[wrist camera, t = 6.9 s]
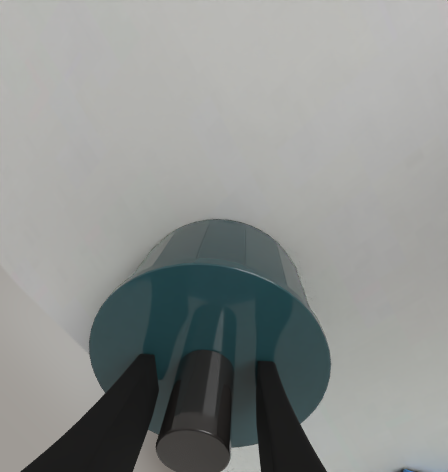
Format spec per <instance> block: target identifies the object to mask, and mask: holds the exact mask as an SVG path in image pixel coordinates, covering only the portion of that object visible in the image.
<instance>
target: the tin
mask: <svg viewBox="0 0 448 472" xmlns="http://www.w3.org/2000/svg"><path fill="white" fill-rule="evenodd" d="M186 258H211V259H222V260H227V261H232V262H237V263H241V264H244V265H247V266H250V267H253V268H256V269H258V270H260V271H262V272H265V273H267V274H269V275H271V276H273V277H274V278H276V279H277V280H279V281H281V282H282V283H284V284H286V285H287V286H288V287H289V288H290V289H292V290H293V291H294V292H295V293H297V294H298V295H299V296H300V297H301V298H302V299H303V300H304V301H305V303H306V304H307V305H308V306H309V304H308V301H307V299H306V296H305V293H304V290H303V287H302V284H301V281H300V278H299V275H298V272H297V269H296V267H295V265H294V264H293V262H292V261H291V259H290V258H289V256H288V255H287V253H286V252H285V250H284V249H283V248H282V247H281V246H280V245H279V244H278V243H277V242H276V241H275V240H274V239H272V238H271V237H270V236H269V235H267V234H265V233H264V232H262V231H261V230H259V229H257V228H254V227H252V226H250V225H247V224H244V223H241V222H236V221H231V220H221V219H213V220H203V221H198V222H194V223H191V224H188V225H185V226H183V227H181V228H179V229H177V230H175V231H173V232H172V233H170V234H169V235H167V236H166V237H165V238H164V239H163V240H162V241H161V242H160V243H159V244H157V245H156V246H155V247H154V248H153V249H152V250H151V252H150V253H149V254H148V256H147V257H146V258H145V260H144V261H143V262H142V263H141V265H140V266H139V267H138V269H137V270H136V271H135V273H134V274H133V275H135V274H136V273H138V272H140V271H142V270H144V269H147V268H149V267H151V266H154V265H157V264H161V263H164V262H167V261H173V260H179V259H186ZM133 275H132V276H133Z"/></svg>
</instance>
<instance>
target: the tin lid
mask: <svg viewBox="0 0 448 472" xmlns="http://www.w3.org/2000/svg"><path fill="white" fill-rule="evenodd" d="M89 354H90V359H91V365H92V368H93V371H94V373H95V376H96V378H97V380H98V382H99V384H100V386H101V388H102V389H103V390H104V392H105V393H106V392H107V391H108V390H109V389H110V388H111V387H112V385H113V384H114V383H115V382H116V381H117V380H118V379H119V378H120V376H121V375H122V374H123V373H124V372H125V371H126V369H127V368H128V367H129V366H130V365H131V364H132V362H133V361H134V360H135V359H136V358H137V356H138V355H140V354H152V355H155V362H156V370H157V378H158V386H159V392H158V397H157V401H156V405H155V409H154V413H153V416H152V419H151V422H150V425H149V428H148V430H150V431H152V432H154V433H156V434H158V439H157V442H156V452H157V455H158V458H159V459H160V460H161V461H162V463H163V464H164V465H165V466H167V467H168V468H170V469H172V470H173V471H176V472H221V471H222V470H224V469H225V468H226V467H227V465H228V463H229V461H230V458H231V448H234V447H243V446H250V445H254V444H258V436H257V426H256V386H257V367H258V361H272V362H274V363H275V364H276V368H277V371H278V374H279V377H280V380H281V382H282V385H283V388H284V390H285V393H286V395H287V397H288V400H289V402H290V404H291V406H292V408H293V410H294V413H295V415H296V417H297V419H298V421H299V423H300V424H301V423H302V422H303V421H304V420H305V419H307V418H308V417H309V416H310V414H311V413H312V412H313V411H314V410H315V409H316V407H317V406H318V404H319V403H320V401H321V400H322V398H323V396H324V394H325V391H326V389H327V386H328V382H329V378H330V370H331V359H330V350H329V347H328V343H327V340H326V337H325V334H324V331H323V329H322V327H321V325H320V323H319V321H318V319H317V317H316V316H315V314H314V313H313V311H312V310H311V308H310V307H309V306H308V305H307V304H306V303H305V301H304V300H303V299H302V298H301V297H300V296H299V295H298V294H297V293H295V292H294V291H293V290H292V289H290V288H289V287H288V286H287V285H286V284H284V283H282V282H281V281H279V280H277V279H276V278H274V277H273V276H271V275H269V274H267V273H265V272H262V271H260V270H258V269H256V268H253V267H250V266H247V265H244V264H241V263H237V262H232V261H227V260H222V259H211V258H186V259H179V260H173V261H167V262H164V263H161V264H157V265H154V266H151V267H149V268H147V269H144V270H142V271H140V272H138V273H136V274H135V275H133V276H131V277H130V278H128V279H127V280H125V281H124V282H123V283H122V284H121V285H120V286H118V287H117V288H116V289H115V290H114V291H113V292H112V294H111V295H110V296H109V297H108V299H107V300H106V301H105V302H104V303H103V305H102V306H101V308H100V310H99V311H98V313H97V315H96V317H95V319H94V322H93V325H92V328H91V333H90V340H89Z"/></svg>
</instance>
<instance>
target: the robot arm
mask: <svg viewBox="0 0 448 472" xmlns="http://www.w3.org/2000/svg"><path fill="white" fill-rule="evenodd" d="M158 392H159V386H158V378H157V370H156V362H155V355H152V354H140V355H138V356H137V358H136V359H135V360H134V361H133V362H132V364H131V365H130V366H129V367H128V368H127V369H126V371H125V372H124V373H123V374H122V375H121V376H120V378H119V379H118V380H117V381H116V382H115V383H114V384H113V385H112V387H111V388H110V389H109V390H108V391H107V392H106V393H105V394H104V395H103V396H102V397H101V399H100V400H99V401H98V402H97V403H96V404H95V405H94V406H93V407H92V408H91V409H90V410H89V411H88V412H87V413H86V414H85V415H84V416H83V417H82V418H81V419H80V420H79V421H78V422H77V423H76V424H75V425H74V426H73V427H72V428H71V429H70V430H68V432H66V433H65V434H64V435H63V436H62V437H61V438H60V439H59V440H58V441H56V442H55V443H54V444H53V445H52V446H51V447H50V448H48V449H47V450H46V451H45V452H44V453H42V454H41V455H40V456H39V457H38V458H37V459H35V460H34V461H33V462H32V463H31V464H29V465H28V466H27V467H26V468H24V469H23V470H22V471H21V472H133V469H134V466H135V464H136V461H137V458H138V455H139V453H140V450H141V447H142V444H143V442H144V439H145V436H146V433H147V431H148V428H149V425H150V422H151V419H152V416H153V413H154V409H155V405H156V401H157V397H158ZM256 426H257V436H258V446H259V456H260V465H261V472H327V471H326V469H325V468H324V466H323V464H322V463H321V461H320V459H319V458H318V456H317V454H316V453H315V451H314V449H313V447H312V446H311V444H310V442H309V440H308V438H307V436H306V434H305V433H304V431H303V429H302V427H301V425H300V423H299V421H298V419H297V417H296V415H295V413H294V410H293V408H292V406H291V404H290V402H289V400H288V397H287V395H286V393H285V390H284V388H283V385H282V382H281V380H280V377H279V374H278V371H277V368H276V364H275V363H274V362H272V361H258V367H257V386H256Z"/></svg>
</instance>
